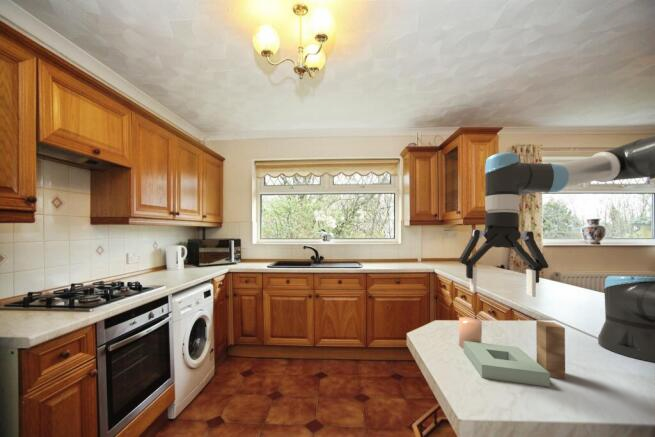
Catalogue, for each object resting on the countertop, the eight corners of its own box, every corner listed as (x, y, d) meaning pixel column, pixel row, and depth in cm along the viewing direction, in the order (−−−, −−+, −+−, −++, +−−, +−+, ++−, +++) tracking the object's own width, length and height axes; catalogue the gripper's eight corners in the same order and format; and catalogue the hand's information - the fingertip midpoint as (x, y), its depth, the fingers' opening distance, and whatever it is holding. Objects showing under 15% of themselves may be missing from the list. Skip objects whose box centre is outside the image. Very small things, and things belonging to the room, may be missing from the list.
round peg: (477, 344, 81) (477, 318, 82) (484, 352, 75) (485, 324, 76) (456, 342, 82) (456, 316, 83) (462, 350, 76) (462, 322, 77)
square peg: (554, 370, 67) (554, 322, 67) (565, 378, 63) (564, 327, 63) (536, 368, 67) (536, 320, 68) (546, 376, 63) (545, 326, 64)
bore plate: (517, 358, 73) (517, 346, 73) (549, 386, 59) (549, 373, 59) (463, 351, 75) (463, 341, 76) (481, 377, 62) (481, 364, 62)
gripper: (546, 214, 71) (547, 294, 69) (447, 212, 76) (446, 286, 74) (565, 212, 63) (566, 301, 62) (454, 210, 68) (454, 292, 67)
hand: (501, 293), depth 68 cm, fingers open, 13 cm apart
